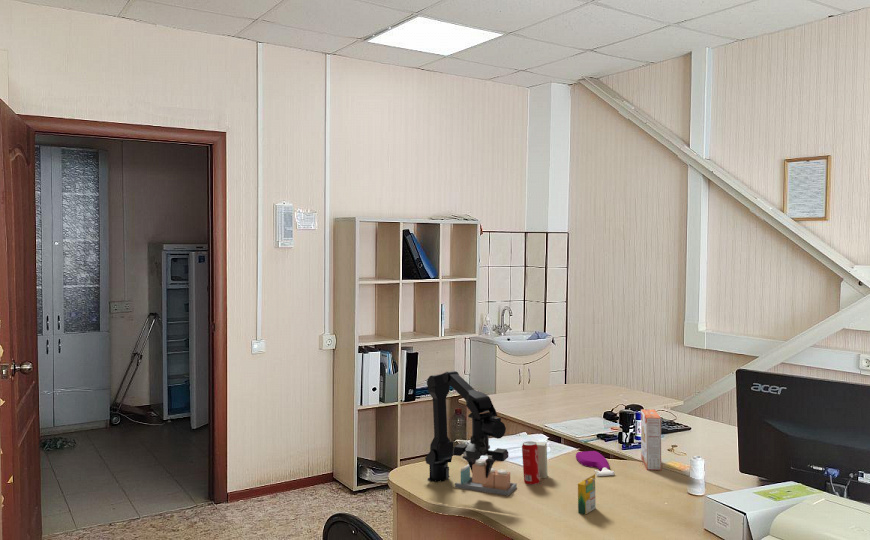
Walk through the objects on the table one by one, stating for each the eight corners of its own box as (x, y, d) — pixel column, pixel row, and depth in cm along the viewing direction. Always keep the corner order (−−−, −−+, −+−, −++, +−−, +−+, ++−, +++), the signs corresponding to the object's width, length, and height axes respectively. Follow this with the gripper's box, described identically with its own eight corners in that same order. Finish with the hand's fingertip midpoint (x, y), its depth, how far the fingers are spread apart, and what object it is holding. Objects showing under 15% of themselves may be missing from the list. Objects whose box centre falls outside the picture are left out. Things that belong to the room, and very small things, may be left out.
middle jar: (482, 489, 250) (482, 470, 249) (486, 485, 254) (486, 466, 253) (493, 490, 248) (493, 472, 247) (498, 487, 252) (497, 468, 251)
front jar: (494, 491, 248) (494, 472, 247) (498, 487, 251) (498, 468, 251) (506, 492, 246) (506, 473, 245) (510, 488, 250) (510, 470, 249)
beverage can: (539, 486, 253) (539, 445, 253) (521, 485, 255) (521, 444, 254) (540, 480, 259) (540, 441, 259) (522, 479, 261) (522, 440, 260)
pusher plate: (460, 484, 252) (460, 468, 252) (467, 479, 258) (467, 463, 258) (463, 485, 252) (463, 469, 251) (470, 479, 257) (469, 464, 257)
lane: (455, 488, 252) (455, 483, 252) (464, 481, 260) (464, 475, 260) (508, 496, 243) (508, 491, 243) (516, 488, 251) (516, 483, 251)
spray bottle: (598, 457, 289) (621, 477, 264) (573, 458, 288) (593, 479, 263) (598, 450, 289) (621, 470, 264) (573, 451, 287) (593, 471, 263)
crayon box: (587, 506, 234) (587, 472, 233) (596, 508, 232) (595, 474, 231) (577, 512, 228) (577, 477, 228) (585, 515, 226) (585, 479, 226)
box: (547, 475, 265) (547, 442, 265) (545, 479, 261) (545, 445, 260) (534, 474, 267) (533, 441, 266) (531, 478, 263) (531, 444, 262)
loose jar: (472, 482, 240) (472, 462, 240) (477, 478, 244) (477, 459, 244) (484, 484, 238) (484, 464, 238) (488, 480, 242) (488, 460, 242)
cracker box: (640, 459, 284) (640, 408, 284) (655, 459, 284) (655, 409, 283) (645, 470, 271) (645, 417, 270) (661, 470, 270) (661, 417, 269)
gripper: (446, 435, 237) (446, 480, 238) (497, 441, 229) (497, 487, 230) (459, 427, 247) (459, 470, 248) (508, 432, 239) (509, 477, 240)
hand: (480, 476), depth 241 cm, fingers closed on loose jar, 4 cm apart
